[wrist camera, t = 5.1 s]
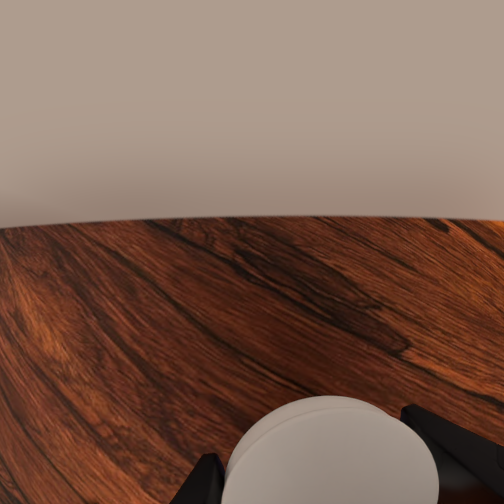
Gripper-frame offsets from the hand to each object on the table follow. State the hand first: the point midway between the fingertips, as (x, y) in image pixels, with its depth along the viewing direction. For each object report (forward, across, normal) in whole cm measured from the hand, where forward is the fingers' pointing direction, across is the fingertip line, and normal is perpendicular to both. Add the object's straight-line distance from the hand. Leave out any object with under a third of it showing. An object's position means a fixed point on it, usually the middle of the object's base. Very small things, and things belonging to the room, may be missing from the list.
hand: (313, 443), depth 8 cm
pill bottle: (+4, 0, +6) cm, 7 cm away
